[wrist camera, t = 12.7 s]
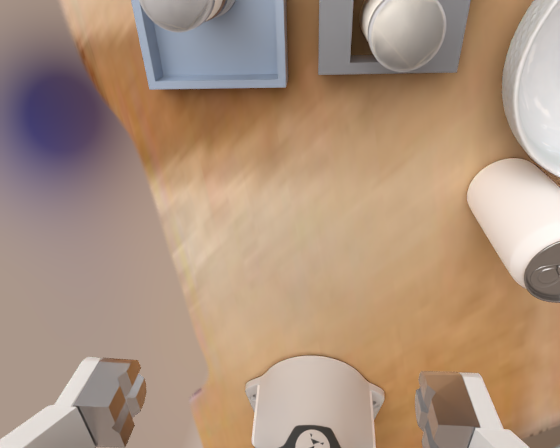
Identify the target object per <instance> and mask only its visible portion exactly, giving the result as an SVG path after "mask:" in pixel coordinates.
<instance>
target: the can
mask: <svg viewBox="0 0 560 448" xmlns="http://www.w3.org/2000/svg"><path fill="white" fill-rule="evenodd" d="M467 202H468V205H469V207H470V209H471V211H472V213H473V214H474V216H475V218H476V219H477V221H478V223H479V224H480V226H481V228H482V229H483V231H484V233H485V234H486V236H487V238H488V239H489V241H490V242H491V244H492V246H493V247H494V249H495V251H496V252H497V254H498V256H499V257H500V259H501V260H502V262H503V264H504V265H505V267H506V269H507V270H508V272H509V273H510V275H511V276H512V278H513V279H514V280H515V281H516V282H517V283H518V284H519V285H521V286H522V287H524V288H526V289H527V290H528V292H529V293H530V294H531V295H533V296H534V297H536V298H538V299H540V300H543V301H547V302H555V303H560V187H559V186H558V185H557V184H556V183H554V182H553V181H552V180H551V179H550V178H549V177H548V176H547V175H546V174H545V173H544V172H543V171H541V170H540V169H539V168H538V167H537V166H536V165H534V164H533V163H531V162H529V161H527V160H524V159H519V158H509V159H503V160H499V161H496V162H494V163H492V164H490V165H488V166H486V167H485V168H484V169H482V170H481V171H480V172H479V173H478V174H477V175H476V176H475V177H474V179H473V180H472V182H471V183H470V185H469V188H468V192H467Z"/></svg>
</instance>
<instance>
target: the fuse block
mask: <svg viewBox="0 0 560 448" xmlns="http://www.w3.org/2000/svg"><path fill="white" fill-rule="evenodd" d="M470 1H471V0H365V1H364V2H363V4H362V7H361V10H360V14H359V24H360V28H361V31H362V33H363V34H364V36H365V38H366V39H367V41H368V43H369V46H370V49H371V51H372V53H373V55H351V37H352V18H353V0H319V66H318V75H340V74H397V73H453V72H457V69H458V64H459V59H460V53H461V48H462V43H463V38H464V32H465V27H466V22H467V17H468V12H469V6H470Z"/></svg>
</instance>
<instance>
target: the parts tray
mask: <svg viewBox="0 0 560 448" xmlns="http://www.w3.org/2000/svg"><path fill="white" fill-rule="evenodd" d="M131 2H132V7H133V12H134V17H135V21H136V26H137V31H138V36H139V41H140V46H141V50H142V55H143V60H144V65H145V70H146V75H147V80H148V84H149V89H212V88H278V87H286V86H287V82H288V50H287V9H286V0H236V2H235V4H234V5H233V7H232V8H231V9H230V10H229V11H228V12H227V13H225V14H223V15H221V16H219V17H216V18H213V19H211V20H209V21H206V22H204V23H203V24H201V25H200V26H198V27H196V28H194V29H192V30H189V31H186V32H171V31H168V30H165V29H163V28H161V27H160V26H158V25H157V24H155V23H154V22H153V21H152V20H151V19H150V18H149V17H148V16H147V14H146V13H145V11H144V10H143V8H142V6H141V4H140V2H139V0H131Z"/></svg>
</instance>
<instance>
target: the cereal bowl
mask: <svg viewBox="0 0 560 448" xmlns="http://www.w3.org/2000/svg"><path fill="white" fill-rule="evenodd" d="M502 99H503V106H504V110H505V115H506V118H507V121H508V123H509V126H510V128H511V130H512V133H513V135H514V136H515V138H516V139H517V141H518V143H519V144H520V145H521V146H522V148H523V149H524V151H525V152H526V153H527V154H528V155H529V156H530V158H532V159H533V160H534V161H535V162H536V163H537V164H539V165H540V166H541V167H543V168H544V169H545V170H547V171H548V172H550V173H552V174H554V175H556V176H558V177H560V0H534V1H533V2H532V4H531V6H530V7H529V8H528V9H527V11H526V13H525V15H524V16H523V18H522V20H521V22H520V23H519V25H518V28H517V30H516V32H515V35H514V37H513V38H512V40H511V44H510V47H509V49H508V53H507V55H506V60H505V63H504V69H503V76H502Z"/></svg>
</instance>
